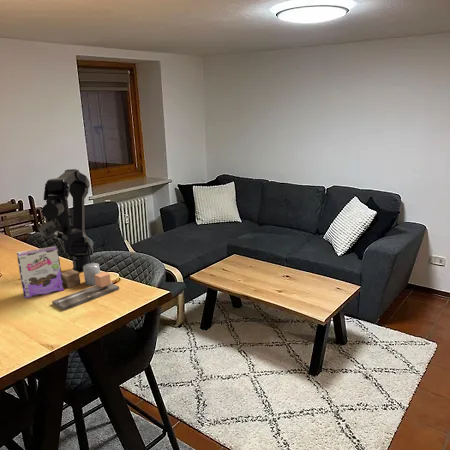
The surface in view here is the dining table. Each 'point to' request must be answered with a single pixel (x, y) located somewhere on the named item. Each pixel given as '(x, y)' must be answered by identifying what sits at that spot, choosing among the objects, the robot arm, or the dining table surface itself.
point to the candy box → (40, 271)
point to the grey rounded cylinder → (90, 273)
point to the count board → (83, 296)
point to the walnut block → (70, 278)
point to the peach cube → (102, 279)
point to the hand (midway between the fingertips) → (66, 252)
